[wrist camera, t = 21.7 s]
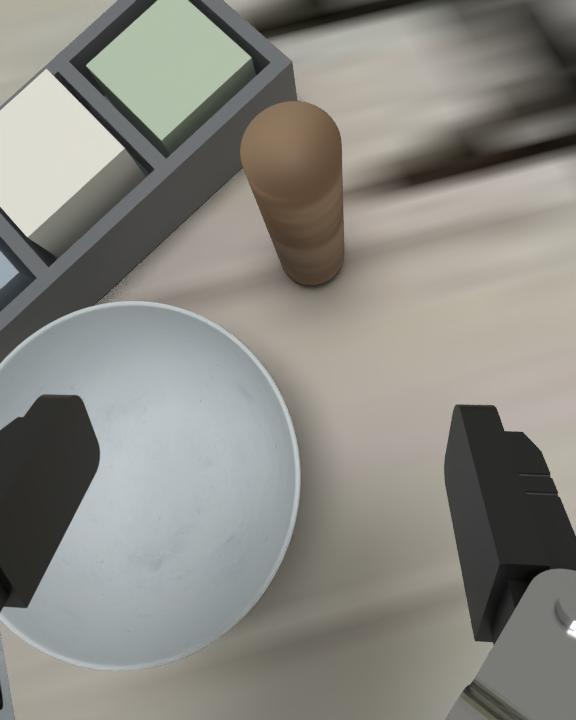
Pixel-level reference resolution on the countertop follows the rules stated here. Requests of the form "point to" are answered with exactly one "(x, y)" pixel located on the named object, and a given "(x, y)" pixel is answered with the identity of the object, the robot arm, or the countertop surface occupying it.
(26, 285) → the slate key
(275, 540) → the chinaware
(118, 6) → the keypad
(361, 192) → the countertop surface
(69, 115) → the ivory key
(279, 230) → the walnut stylus
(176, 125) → the sage key
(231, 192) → the countertop surface
